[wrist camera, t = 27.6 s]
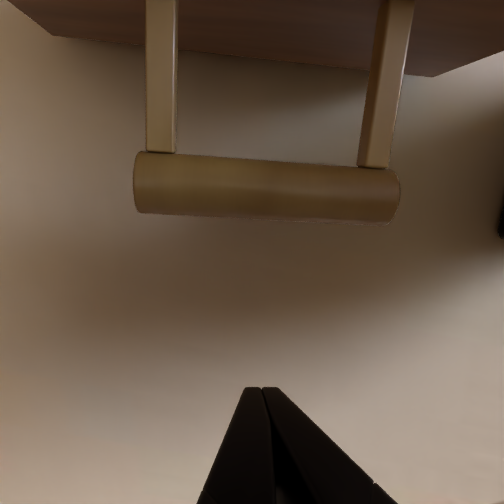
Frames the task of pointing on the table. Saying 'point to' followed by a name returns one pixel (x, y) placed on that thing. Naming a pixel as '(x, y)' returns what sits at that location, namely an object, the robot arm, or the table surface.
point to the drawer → (284, 49)
